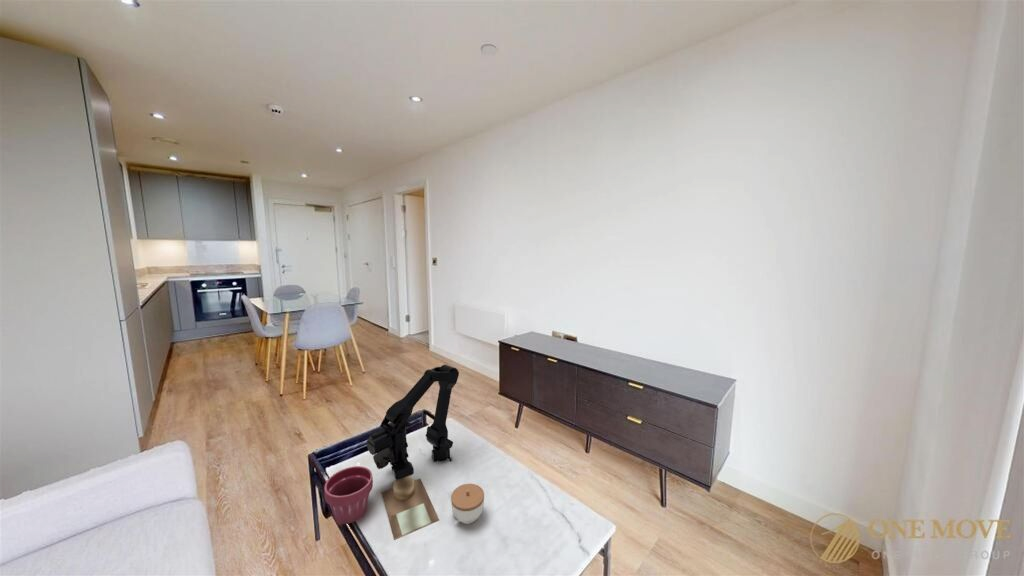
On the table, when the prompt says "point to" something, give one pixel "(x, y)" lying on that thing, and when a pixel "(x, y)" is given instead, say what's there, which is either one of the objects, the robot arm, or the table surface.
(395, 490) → the oak puck
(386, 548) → the table surface
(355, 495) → the plant pot
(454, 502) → the lidded jar
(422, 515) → the walnut board
